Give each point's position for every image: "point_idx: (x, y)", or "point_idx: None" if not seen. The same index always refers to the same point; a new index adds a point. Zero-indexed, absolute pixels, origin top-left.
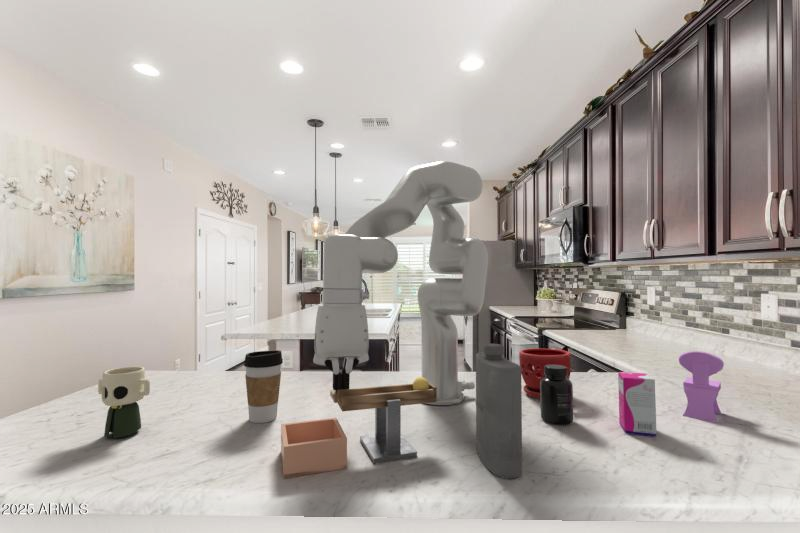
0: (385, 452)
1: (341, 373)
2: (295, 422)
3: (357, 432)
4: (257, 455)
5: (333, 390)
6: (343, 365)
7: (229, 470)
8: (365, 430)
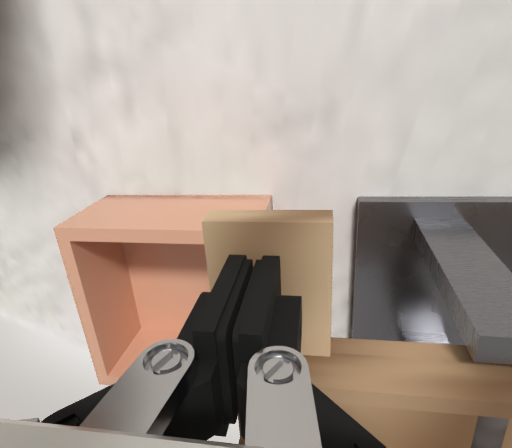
0: (397, 334)
1: (236, 376)
2: (100, 229)
3: (370, 117)
4: (50, 197)
5: (220, 233)
6: (247, 388)
7: (12, 254)
8: (409, 106)
